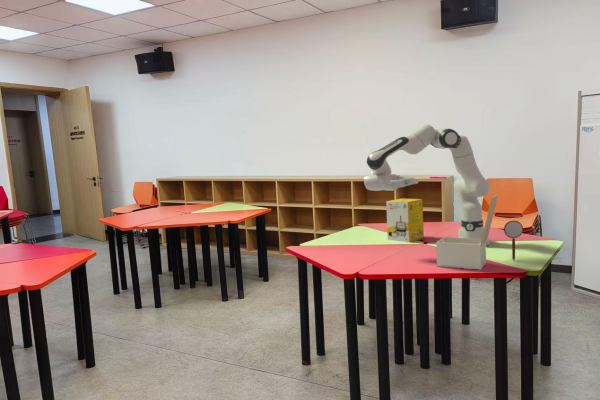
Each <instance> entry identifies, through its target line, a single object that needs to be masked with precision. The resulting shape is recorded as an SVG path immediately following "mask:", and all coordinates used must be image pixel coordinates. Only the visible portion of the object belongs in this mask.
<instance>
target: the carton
mask: <svg viewBox="0 0 600 400" xmlns="http://www.w3.org/2000/svg"><path fill="white" fill-rule="evenodd" d="M481 240H482V239H470V238H459V237H450V236H449V237H448V236H443V237H442V238H440V239H438V240H437V241H436V243H435V245H436V247H435V248H436V249H435V250H436V251H435V252H436V267H439V268H448V267H449V268H451V269H460V268H464V269H463V270H471V269H480V270H479V271H482V269H483V268H484V267H485V266H486V265H487V249H486V248H487V245H486V241H485V242H484V243H483V244H482V245H480V244H481ZM484 265H485V266H484ZM483 266H484V267H483ZM482 267H483V268H482ZM481 268H482V269H481Z"/></svg>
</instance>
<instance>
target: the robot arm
mask: <svg viewBox="0 0 600 400" xmlns="http://www.w3.org/2000/svg"><path fill="white" fill-rule="evenodd" d="M430 145H431V146H432V147H433V148H436V149H442V150H443V149H449V151H450V152H451V156H452V159H453V162H454V163H453V164H454V167H455V170H456V172H457V173H458V174H459V175H460V176H461V177H460V178H457V179H456V180H455V181H454V182H453V190H454V191H455V193H456V194H457V196H458V199H459V200H458V201H459V203H460V206H461V207H460V208H461V220H460V224H461V225H460V226H461V227H460V228H459V229H458V238H470V239H482V236H483V232H484V227H485V226H484V219H483V207H482V205H481V203H480V202H479V200H478V198H482V197H486V196H487V195H488V194H489V193H490V191H491V184H490V182H489V181H488V180H487V179H486V178H485V177H484V176H483V174H482V172H481V171H480V169H479V167H478V164H477V161H476V158H475V155H474V152H473V148H472V145H471V143H470V141H469V138H468V137H467V136H465V135H459V133H458V132H457V131H456V130H454V129H452V128H441V129H435V128H434V127H433V126H432V125H430V124H425V125H422V126H421V127H419V128H417V129H416V130H414V131H413V132H412V133H410V134H409V135H407V136H401V137H397V138H396V139H395V140H393V141H391V142H390V143H388V144H386V145H385V146H383V147H382V148H379V149H378V150H375V151H373V152H371V153H370V154H369V155H368V156H367V158H366V164H367V166H368V168H370V170H371V172H370V173H369V174H367V175H366V176H364V177H363V184H364V187H365V188H366V190H368V191H375V192H379V191H388V192H389V191H390V192H391V191H394V192H395V191H397V190H398V189H400V188H405V187H407V186H411V185H412V186H413V185H417V184H418V183H419V180H418V179H415V177H411V176H401V175H397V174H394V173H393V174H392V169H391V166H390V164H389V163H388V161H387V159H388V158H389V157H390V156H392V155H394V154H395V153H396V152H398V151H404V152H405V153H407V154H409V155H418V154H419V153H420V152H422V151H423V150H425V149H426V148H427V147H428V146H430ZM490 245H491V242H490V238H488V239H487V240H486V246H490Z"/></svg>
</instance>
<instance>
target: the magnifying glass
mask: <svg viewBox="0 0 600 400" xmlns="http://www.w3.org/2000/svg"><path fill="white" fill-rule="evenodd" d="M522 224H523V223H521V222H519V221H517V220H510V221H507V222H506V223H505V224H504V227H503V232H504V234H505V235H506V237H508V238H511V245H512V246H511V247H512V248H511V250H512V251H511V253H512V254H511V256H512V257H511V258H512V261H513V262H515V260H516V238H519V237H521V235H522V234H523V232H524V226H523V225H522Z"/></svg>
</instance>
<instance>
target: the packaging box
mask: <svg viewBox="0 0 600 400" xmlns="http://www.w3.org/2000/svg"><path fill="white" fill-rule="evenodd" d="M423 200H424V199H423V198H422V199H420V198H397V199H391V200H386V202H385V204H386V228H387V229H386V230H387V231H386V232H387V240H388V241H389V240H390V241H396V242H404V243H411V242H414V241H418V240H421V238H422V239H424V235H425V234H424V208H423V206H424V205H423Z"/></svg>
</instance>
